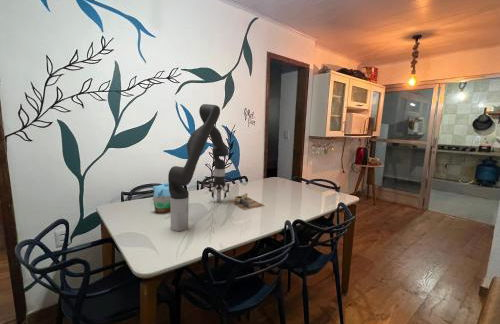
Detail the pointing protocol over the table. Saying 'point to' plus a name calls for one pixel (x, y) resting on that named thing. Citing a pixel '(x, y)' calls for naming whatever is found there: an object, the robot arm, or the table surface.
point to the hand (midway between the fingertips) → (218, 197)
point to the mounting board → (252, 205)
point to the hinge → (242, 200)
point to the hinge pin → (219, 195)
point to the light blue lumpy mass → (161, 190)
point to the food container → (161, 204)
